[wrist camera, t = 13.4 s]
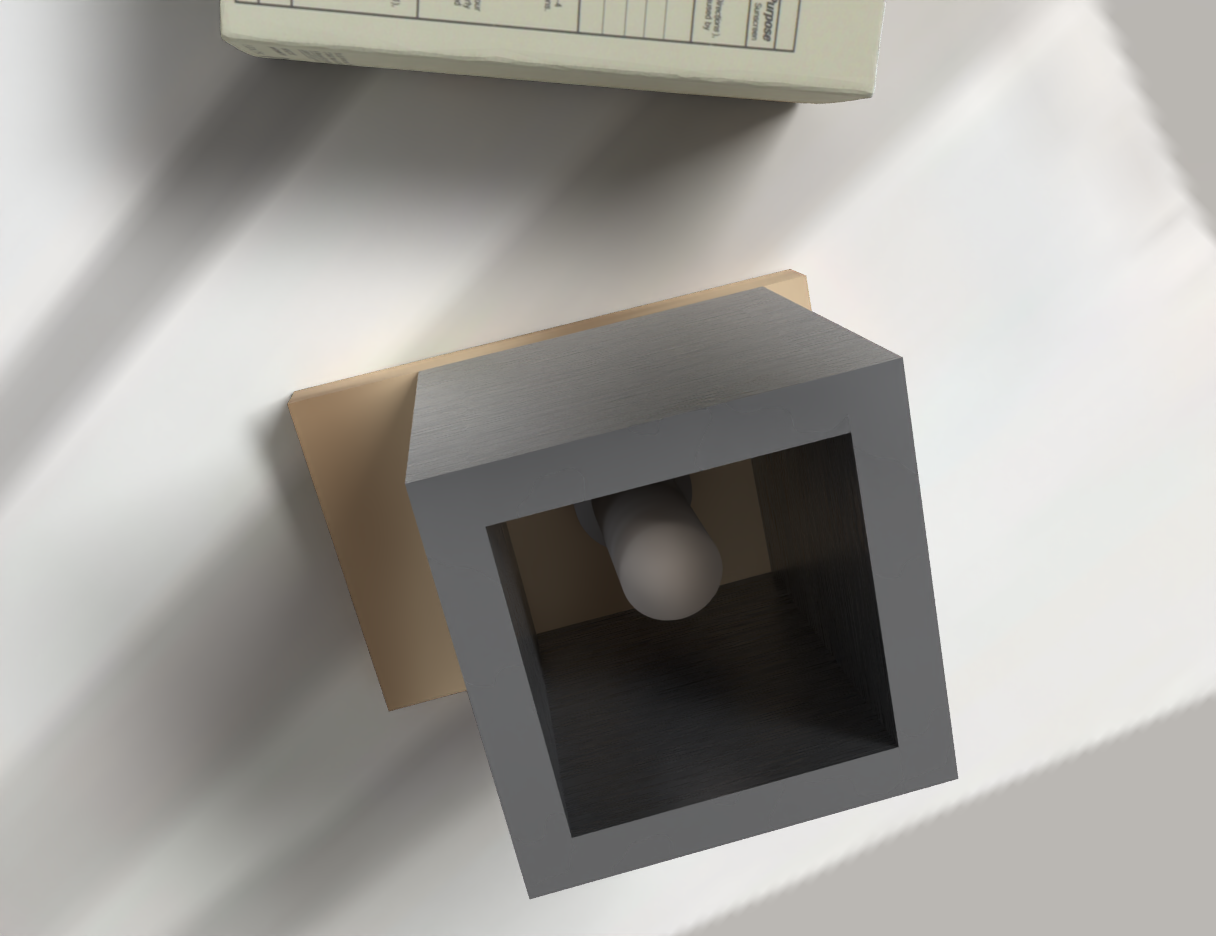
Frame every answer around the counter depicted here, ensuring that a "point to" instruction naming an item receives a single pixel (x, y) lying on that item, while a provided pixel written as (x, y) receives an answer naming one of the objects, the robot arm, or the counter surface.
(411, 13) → the skincare box
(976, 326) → the counter surface
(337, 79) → the counter surface
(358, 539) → the block
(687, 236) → the counter surface
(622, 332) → the hollow grey cube box
